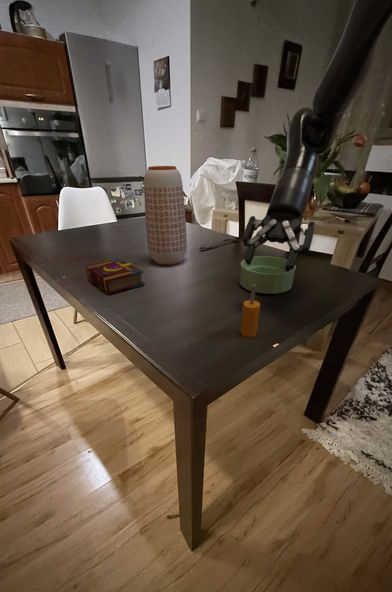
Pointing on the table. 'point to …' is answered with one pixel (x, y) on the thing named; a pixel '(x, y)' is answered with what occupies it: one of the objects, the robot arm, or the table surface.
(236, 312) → the table surface
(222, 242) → the tomahawk
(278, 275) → the green round bowl
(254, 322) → the screwdriver
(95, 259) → the table surface
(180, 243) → the patterned ceramic vase
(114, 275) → the decorative book
